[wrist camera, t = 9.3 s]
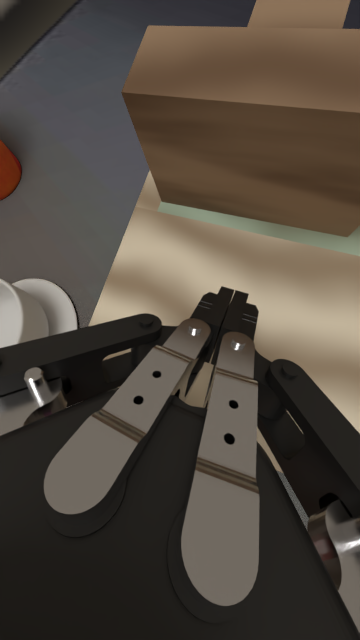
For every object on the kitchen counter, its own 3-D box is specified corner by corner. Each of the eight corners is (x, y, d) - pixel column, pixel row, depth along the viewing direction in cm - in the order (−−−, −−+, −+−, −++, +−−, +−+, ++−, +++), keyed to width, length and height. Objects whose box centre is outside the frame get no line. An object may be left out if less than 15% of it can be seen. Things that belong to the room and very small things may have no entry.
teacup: (100, 349, 19) (63, 346, 14) (5, 416, 19) (-60, 433, 15) (50, 259, 21) (4, 231, 17) (-34, 320, 22) (-101, 310, 17)
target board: (202, 51, 22) (202, 36, 21) (448, 64, 18) (461, 48, 17) (75, 379, 19) (67, 380, 18) (341, 492, 14) (350, 501, 13)
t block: (212, 61, 20) (207, -121, 13) (390, 70, 18) (525, -160, 10) (161, 201, 19) (121, 92, 11) (347, 237, 16) (467, 122, 8)
